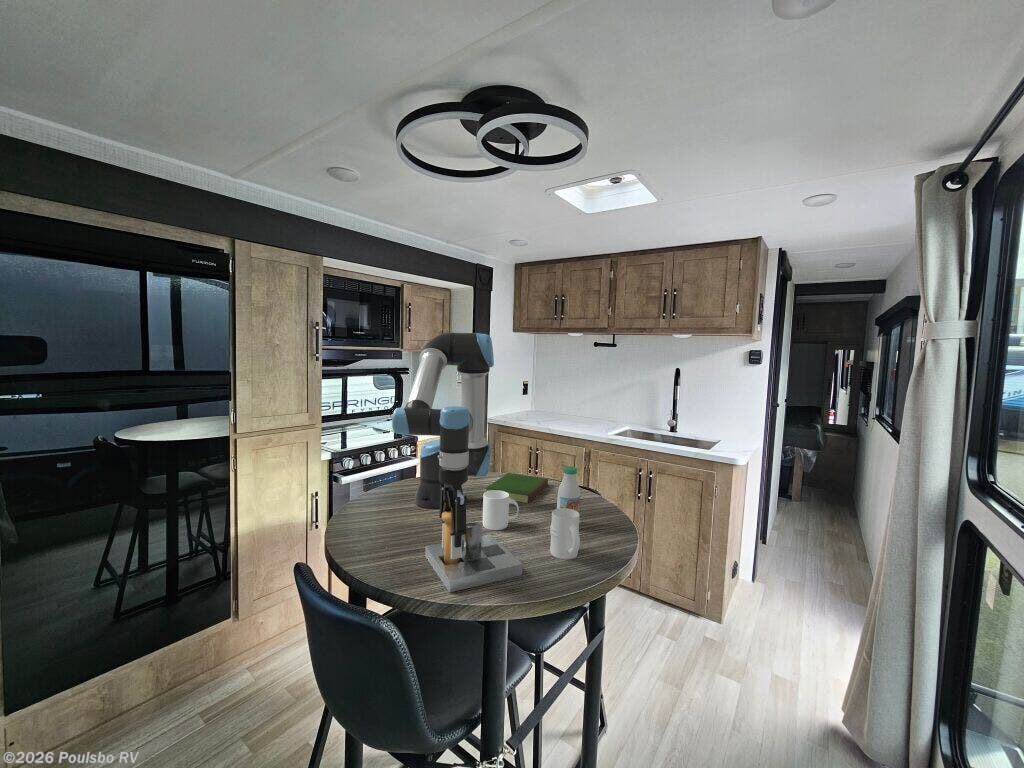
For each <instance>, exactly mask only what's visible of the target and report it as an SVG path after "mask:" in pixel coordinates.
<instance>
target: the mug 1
mask: <svg viewBox="0 0 1024 768" xmlns="http://www.w3.org/2000/svg"><path fill="white" fill-rule="evenodd" d="M482 495H483V498H482V499H483V500H482V501H483V502H482V527H484V528H485V529H487V530H489V531H502V530H504V529H507V527H508V526H509V523H510V522H513V521H514V520H515V519H516V518H517V517H518V516H519V511H520V509H519V504H518V501H515V500H513V499H511V498H509V494H508V493H507V492H504V491H499V490H492V491H487V492H486V491H485V492H484V493H483V494H482ZM510 504H512V505H515V507H516V508H517V509H516V513H515V514H514V515H512V516H511V515H509V512H510Z"/></svg>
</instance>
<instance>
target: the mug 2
mask: <svg viewBox="0 0 1024 768" xmlns="http://www.w3.org/2000/svg"><path fill="white" fill-rule="evenodd" d="M579 516H580V515H579V513H578V512H577V511H575V510H572V509H567V508H559V509H557V508H555V509H554V510H552V512H551V524H550V526H549V527H550V528H549V529H550V530H549V531H550V545H549V546H550V549H549V550H550V554H551V556H553V557H554V558H557V559H561V560H572V559H575V558H577V556H578V555H579V549H580V548H581V547H580V545H581V538H580V531H579V530H580V518H579Z"/></svg>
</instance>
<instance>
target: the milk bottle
mask: <svg viewBox="0 0 1024 768" xmlns="http://www.w3.org/2000/svg"><path fill="white" fill-rule="evenodd" d="M562 470H563V471H562V472H563V477H562V480H561V482H560V485H559V486H558V490H557V497H556V498H557V499H556V509H559V508H567V509H572V510H575V511H577V512H578V513H579V515H580V512H581V489H580V486H579V483H578V479H577V475H578V468H577V467H575V466H569V465H568V466H564V467H563V468H562ZM579 519H580V516H579Z"/></svg>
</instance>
